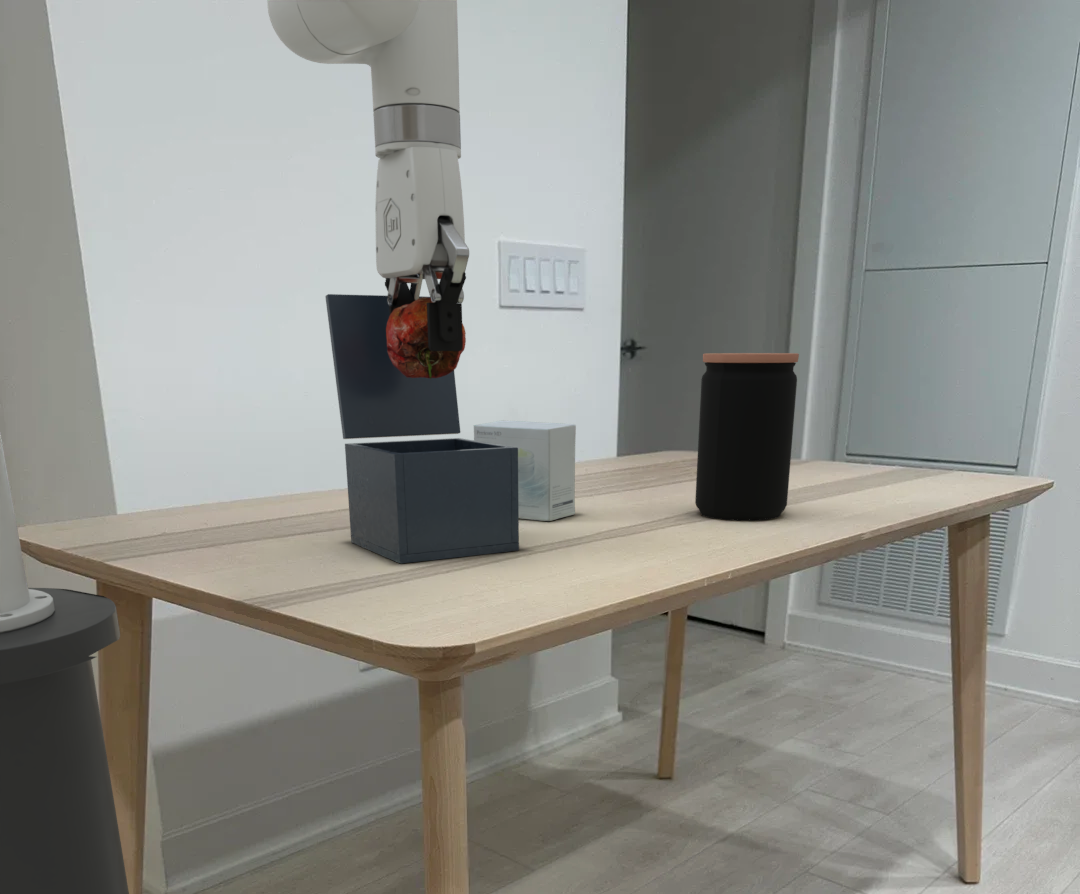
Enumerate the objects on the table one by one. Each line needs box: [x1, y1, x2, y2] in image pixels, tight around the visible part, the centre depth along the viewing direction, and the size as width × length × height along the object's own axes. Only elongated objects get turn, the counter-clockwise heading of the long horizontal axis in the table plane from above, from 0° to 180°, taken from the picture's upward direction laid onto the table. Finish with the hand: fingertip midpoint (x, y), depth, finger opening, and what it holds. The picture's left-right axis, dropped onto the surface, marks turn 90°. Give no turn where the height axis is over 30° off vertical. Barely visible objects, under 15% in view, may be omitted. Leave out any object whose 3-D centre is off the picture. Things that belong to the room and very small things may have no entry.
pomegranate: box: [386, 296, 467, 379], centre depth 94 cm, size 7×7×10 cm
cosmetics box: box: [473, 419, 577, 522], centre depth 119 cm, size 10×6×10 cm, turn 58°
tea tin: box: [344, 437, 520, 565], centre depth 100 cm, size 13×13×10 cm
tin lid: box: [324, 293, 461, 440], centre depth 101 cm, size 13×13×1 cm
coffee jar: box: [694, 352, 800, 522], centre depth 117 cm, size 11×11×18 cm
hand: (426, 349), depth 95 cm, fingers closed on pomegranate, 7 cm apart
